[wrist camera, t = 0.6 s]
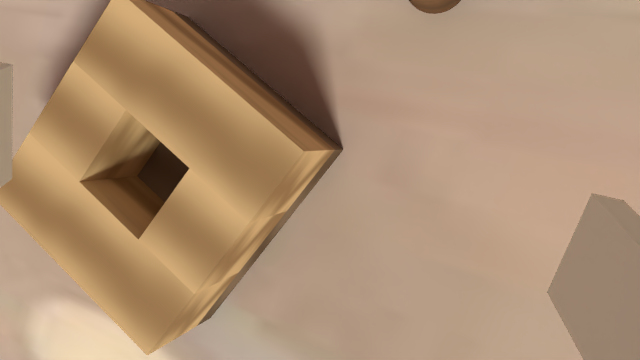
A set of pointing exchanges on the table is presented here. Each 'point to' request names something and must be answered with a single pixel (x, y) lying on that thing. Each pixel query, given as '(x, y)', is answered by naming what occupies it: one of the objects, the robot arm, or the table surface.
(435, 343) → the table surface
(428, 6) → the pin
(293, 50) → the table surface
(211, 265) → the socket block
